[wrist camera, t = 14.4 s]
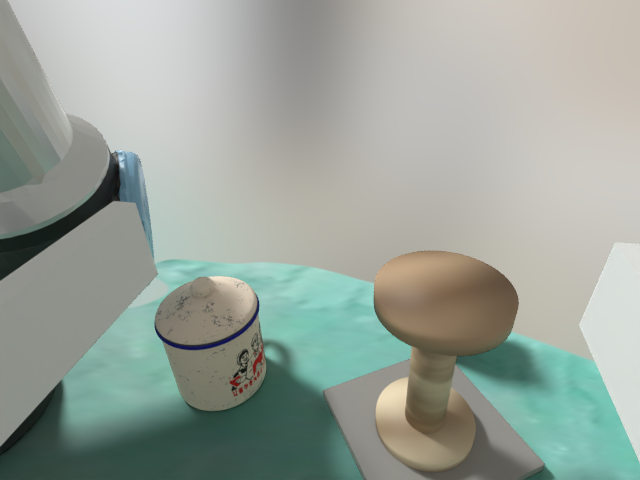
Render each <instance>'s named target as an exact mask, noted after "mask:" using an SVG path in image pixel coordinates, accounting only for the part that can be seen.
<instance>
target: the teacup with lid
mask: <svg viewBox="0 0 640 480" xmlns="http://www.w3.org/2000/svg"><path fill="white" fill-rule="evenodd" d="M258 312H259V300H258V297H257V295H256V293H255V292H254V290H253V289H252V288H251V287H250V286H249V285H248V284H246V283H245V282H243V281H241V280H239V279H236V278H232V277H225V276H214V277H199V278H197V279H195V280H194V281H191V282H189V283H186V284H184V285H182V286H180V287H179V288H177V289H175V290H174V291H173V292H171V293H170V294H169V295H168V296H167V297H166V298H165V299H164V300H163V301H162V303H161V304H160V306H159V308H158V310H157V312H156V316H155V330H156V333H157V335H158V336H159V338H160V339H161V340H162V341H163V344H164V347H165V350H166V353H167V356H168V359H169V362H170V365H171V368H172V371H173V374H174V377H175V380H176V383H177V386H178V389H179V392H180V394H181V396H182V398H183V399H184V400H185V401H186V402H187V403H188V404H190V405H191V406H193V407H195V408H197V409H200V410H205V411H220V410H225V409H229V408H232V407H235V406H237V405H239V404H241V403H243V402H244V401H246V400H247V399H249V398H250V397H251V396H252V395H253V394H254V393H255V392H256V391H257V390H258V389H259V387H260V386H261V384H262V382H263V380H264V377H265V374H266V360H265V354H264V347H263V341H262V335H261V329H260V322H259V316H258Z"/></svg>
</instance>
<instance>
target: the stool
mask: <svg viewBox="0 0 640 480" xmlns="http://www.w3.org/2000/svg"><path fill="white" fill-rule="evenodd" d="M518 304H519V302H518V296H517V293H516V290H515V289H514V287H513V285H512V284H511V283H510V281H509V280H508V279H507V278H506V277H505V276H504V275H503V274H501V273H500V272H499V271H498V270H496V269H495V268H493V267H492V266H489V265H488V264H486V263H484V262H482V261H480V260H477V259H475V258H472V257H469V256H465V255H462V254H457V253H452V252H445V251H418V252H412V253H408V254H404V255H401V256H398V257H396V258H394V259H392V260H390V261H389V262H387V263H386V264H385V265H384V266H383V267H382V268H381V269H380V270H379V272H378V273H377V275H376V278H375V283H374V309H375V313H376V315H377V317H378V319H379V320H380V322H381V323H382V325H383V326H384V327H385V328H386V329H387V330H388V331H389V332H390V333H391V334H392V335H394V336H395V337H396V338H398V339H399V340H401V341H403V342H404V343H406V344H408V345H410V346H412V350H411V359H410V368H409V377H405V378H402V379H399V380H396V381H394V382H393V383H391V384H389V385H388V386H387V387H386V388H385V389H384V390H383V391H382V393H381V394H380V396H379V398H378V401H377V405H376V416H375V423H376V430H377V433H378V436H379V438H380V440H381V442H382V444H383V445H384V447H385V448H386V449H387V451H388V452H389V453H390V454H391V455H392V456H393V457H394V458H396V459H397V460H398V461H400V462H401V463H403V464H405V465H406V466H408V467H411V468H413V469H416V470H419V471H424V472H443V471H447V470H450V469H453V468H455V467H456V466H458V465H460V464H461V463H462V462H463V461H464V460H465V459H466V458H467V456H468V455H469V453H470V451H471V448H472V445H473V442H474V438H475V433H476V424H475V419H474V415H473V413H472V410H471V408H470V406H469V405H468V403H467V402H466V401H465V399H464V398H463V397H462V396H461V395H460V394H459V393H458V392H457V391H456V390H454V389H453V388H451V385H452V380H453V374H454V369H455V364H456V359H457V356H470V355H475V354H480V353H484V352H487V351H489V350H492V349H494V348H496V347H497V346H499V345H500V344H502V343H503V342H504V341H505V340H506V339H507V338H508V336H509V335H510V333H511V331H512V328H513V324H514V321H515V317H516V314H517V310H518Z"/></svg>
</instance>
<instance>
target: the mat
mask: <svg viewBox="0 0 640 480" xmlns="http://www.w3.org/2000/svg"><path fill="white" fill-rule="evenodd" d="M409 368H410V359H408V360H405V361H402V362H400V363H397V364H394V365H391V366H389V367H386V368H383V369H380V370H378V371H375V372H372V373H369V374H366V375H364V376H361V377H358V378H355V379H353V380H350V381H347V382H344V383H342V384H339V385H336V386H333V387H331V388H328V389H325V390H323V396H324V398H325V400H326V402H327V404H328V407H329V409H330V411H331V413H332V415H333V417H334V419H335V421H336V423H337V425H338V427H339V429H340V431H341V434H342V436H343V438H344V440H345V442H346V444H347V446H348V448H349V450H350V452H351V454H352V456H353V458H354V460H355V463H356V465H357V467H358V469H359V471H360V473H361V475H362V477H363V479H364V480H524V479H526V478H528V477H530V476H532V475H534V474H536V473H538V472H539V471H541V470H543V468H544V465H545V463H544V462H543V461H542V460H541V459H540V458H539V457H538V456H537V455H536V453H535V452H534V451H533V450H532V449H531V448H530V447H529V446H528V445H527V443H526V442H525V441H524V440H523V439H522V438H521V437H520V436H519V435H518V433H517V432H516V431H515V430H514V429H513V428H512V427H511V426H510V424H509V423H508V422H507V421H506V420H505V419H504V418H503V417H502V416H501V414H500V413H499V412H498V411H497V410H496V409H495V408H494V407H493V406H492V404H491V403H490V402H489V401H488V400H487V399H486V398H485V397H484V396H483V394H482V393H481V392H480V391H479V390H478V389H477V388H476V387H475V385H474V384H473V383H472V382H471V381H470V380H469V379H468V378H467V377H466V375H465V374H464V373H463V372H462V371H461V370H460V369H459V368H458V367H457V365H456V364H455V369H454V374H453V380H452V385H451V388H453V389H454V390H456V391H457V392H458V393H459V394H460V395H461V396H462V397H463V398H464V399H465V401H466V402H467V403H468V405H469V406H470V408H471V410H472V413H473V415H474V419H475V424H476V433H475V438H474V442H473V445H472V448H471V451H470V453H469V455H468V456H467V458H466V459H465V460H464V461H463V462H462V463H461V464H460V465H458V466H456V467H455V468H453V469H450V470H447V471H443V472H424V471H419V470H416V469H413V468H411V467H408V466H406V465H405V464H403V463H401V462H400V461H398V460H397V459H396V458H394V457H393V456H392V455H391V454H390V453H389V452H388V451H387V449H386V448H385V447H384V445H383V444H382V442H381V440H380V438H379V436H378V433H377V430H376V423H375V416H376V405H377V401H378V398H379V396H380V394H381V393H382V391H383V390H384V389H385V388H386V387H387V386H388V385H389V384H391V383H393V382H394V381H396V380H399V379H402V378H405V377H409Z"/></svg>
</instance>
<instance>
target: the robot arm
mask: <svg viewBox="0 0 640 480" xmlns="http://www.w3.org/2000/svg"><path fill="white" fill-rule="evenodd" d="M157 275H158V273H157V270H156V266H155V263H154V251H153V241H152V231H151V223H150V215H149V207H148V201H147V193H146V187H145V180H144V175H143V169H142V165H141V161H140V159H139V158H138V155H136V154H135V153H133V152H124V151H122V150H119V151H115V152H114V153H112V154H111V152H110V150H109V148H108V146H107V144H106V141H105V140H104V138H103V136H102V134H101V133H100V132H99V131H98V130H97V129H96V128H95V127H94V126H92V125H91V124H90V123H88V122H86V121H85V120H83V119H81V118H79V117H76V116H74V115H70V114H67V113H65V112H64V111H63V108H62V106H61V104H60V103H59V100H58V98H57V96H56V95H55V92H54V90H53V89H52V87H51V85H50V83H49V81H48V79H47V77H46V75H45V73H44V71H43V69H42V67H41V65H40V63H39V61H38V59H37V57H36V55H35V53H34V51H33V49H32V48H31V45H30V44H29V42H28V40H27V38H26V36H25V34H24V32H23V30H22V28H21V26H20V24H19V22H18V20H17V18H16V16H15V14H14V12H13V10H12V8H11V6H10V4H9V2H8V0H0V454H2V453H3V452H4V451H6V450H7V449H8V448H9V447H10V446H12V445H13V444H14V443H15V442H16V441H17V440H18V439H20V438H21V437H22V436H23V435H24V434H25V433H26V432H27V431H28V430H29V429H30V428H31V426H32V425H33V424H34V423H35V422H36V421H37V419H38V418H39V417H40V415H41V414H42V413H43V411H44V410H45V408H46V407H47V405H48V403H49V401H50V399H51V397H52V395H53V392H54V389H55V386H56V385H57V384H58V383H59V382H60V381H61V380H62V378H63V377H64V376H65V375H66V374H67V373H68V372H69V371H70V370H71V369H72V368H73V366H74V365H75V364H76V363H77V362H78V361H79V360H80V359H81V358H82V357H83V356H84V354H85V353H86V352H87V351H88V350H89V349H90V348H91V347H92V346H93V345H94V344H95V342H96V341H97V340H98V339H99V338H100V337H101V336H102V335H103V334H104V333H105V331H106V330H107V329H108V328H109V327H110V326H111V325H112V324H113V323H114V322H115V321H116V319H117V318H118V317H119V316H120V315H121V314H122V313H123V312H124V311H125V310H126V309H127V307H128V306H129V305H130V304H131V303H132V302H133V301H134V300H135V299H136V298H137V296H138V295H139V294H140V293H141V292H142V291H143V290H144V289H145V288H146V287H147V286H148V285H149V284H150V283H151V281H152V280H153V279H154V278H155V277H156V276H157ZM579 326H580V329H581V331H582V333H583V335H584V337H585V340H586V342H587V344H588V347H589V349H590V351H591V353H592V356H593V358H594V360H595V362H596V365H597V367H598V369H599V371H600V374H601V376H602V378H603V381H604V383H605V385H606V387H607V390H608V392H609V394H610V396H611V399H612V401H613V403H614V405H615V408H616V410H617V412H618V414H619V417H620V419H621V421H622V423H623V426H624V428H625V430H626V432H627V435H628V437H629V439H630V441H631V444H632V446H633V448H634V451H635V453H636V455H637V457H638V460H639V462H640V244H631V243H618V242H615V244H614V246H613V249H612V251H611V253H610V256H609V258H608V260H607V262H606V265H605V267H604V269H603V272H602V274H601V276H600V279H599V281H598V283H597V285H596V288H595V290H594V292H593V294H592V297H591V299H590V302H589V304H588V306H587V309H586V311H585V313H584V315H583V317H582V320H581V322H580V324H579Z"/></svg>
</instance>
